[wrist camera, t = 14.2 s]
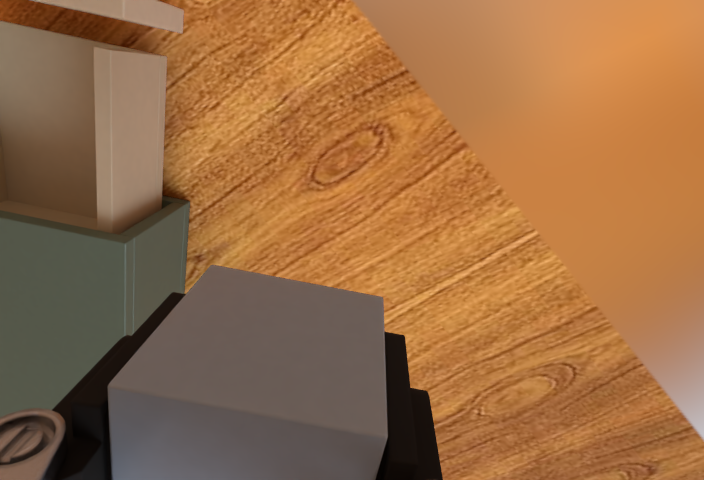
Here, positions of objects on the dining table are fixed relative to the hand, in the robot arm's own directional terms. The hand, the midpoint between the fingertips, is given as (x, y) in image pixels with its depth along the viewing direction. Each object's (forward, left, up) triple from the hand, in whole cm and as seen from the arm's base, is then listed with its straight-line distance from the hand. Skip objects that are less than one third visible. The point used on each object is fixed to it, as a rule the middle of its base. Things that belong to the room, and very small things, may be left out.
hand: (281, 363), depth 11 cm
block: (0, 0, -1) cm, 1 cm away
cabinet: (+12, -14, -17) cm, 25 cm away
